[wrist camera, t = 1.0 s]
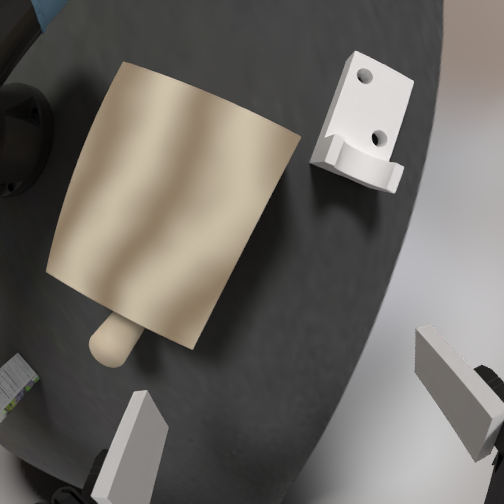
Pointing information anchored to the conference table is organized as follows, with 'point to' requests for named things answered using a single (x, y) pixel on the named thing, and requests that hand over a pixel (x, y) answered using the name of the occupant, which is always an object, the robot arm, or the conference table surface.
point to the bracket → (364, 124)
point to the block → (114, 340)
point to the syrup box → (14, 383)
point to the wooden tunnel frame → (165, 200)
